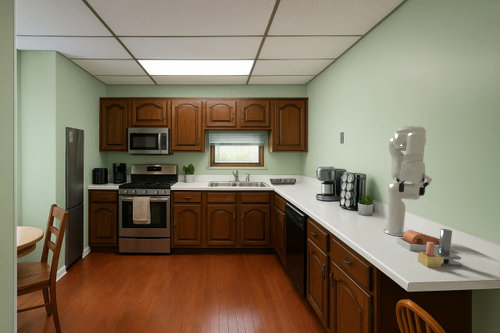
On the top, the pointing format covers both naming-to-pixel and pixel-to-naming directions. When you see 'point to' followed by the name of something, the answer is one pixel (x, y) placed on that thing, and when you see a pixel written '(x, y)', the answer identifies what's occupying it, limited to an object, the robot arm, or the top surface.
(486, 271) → the top surface
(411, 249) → the pipe rack
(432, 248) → the pin
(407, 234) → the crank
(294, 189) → the top surface
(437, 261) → the yellow and grey fixture
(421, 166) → the robot arm
